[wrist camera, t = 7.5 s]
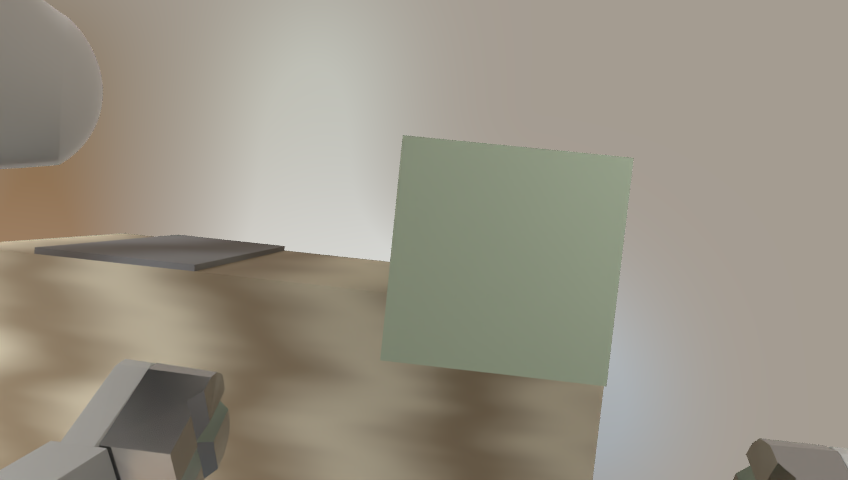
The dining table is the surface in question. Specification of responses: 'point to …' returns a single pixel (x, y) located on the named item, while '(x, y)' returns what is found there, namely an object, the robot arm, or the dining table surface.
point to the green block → (506, 259)
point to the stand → (269, 363)
